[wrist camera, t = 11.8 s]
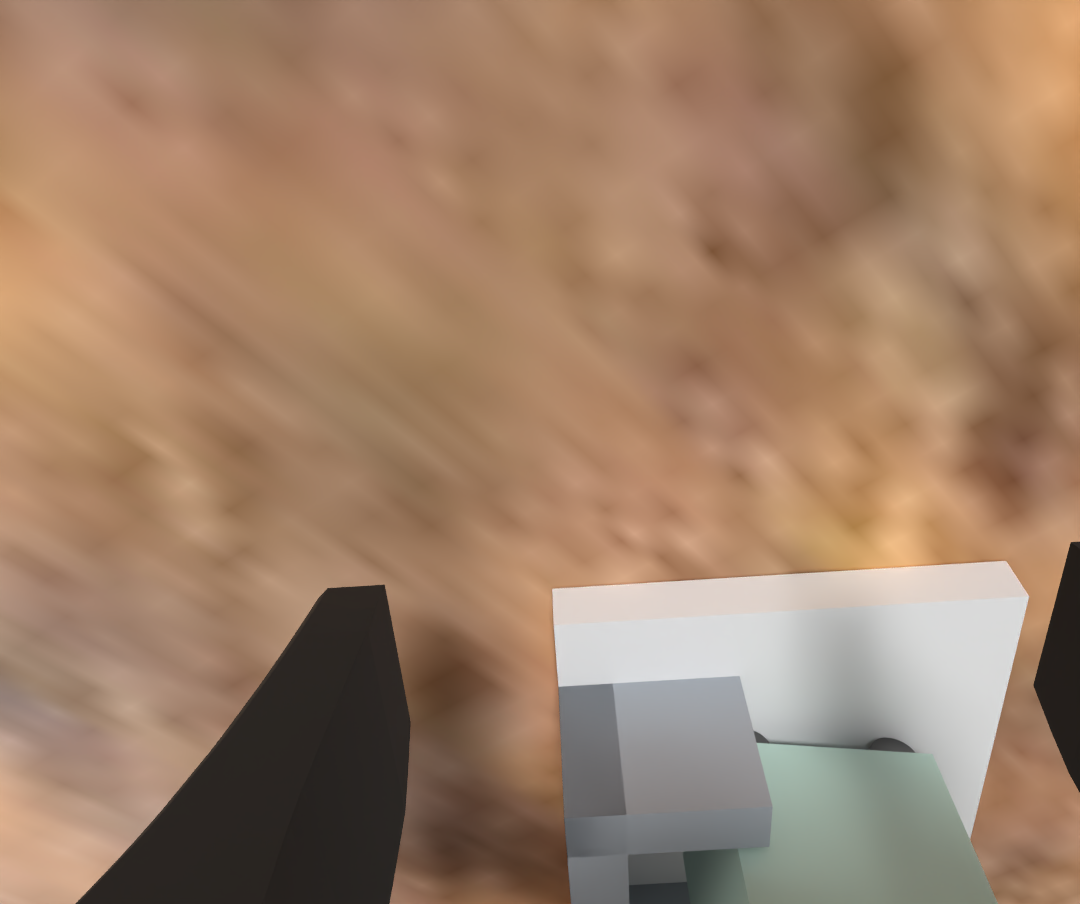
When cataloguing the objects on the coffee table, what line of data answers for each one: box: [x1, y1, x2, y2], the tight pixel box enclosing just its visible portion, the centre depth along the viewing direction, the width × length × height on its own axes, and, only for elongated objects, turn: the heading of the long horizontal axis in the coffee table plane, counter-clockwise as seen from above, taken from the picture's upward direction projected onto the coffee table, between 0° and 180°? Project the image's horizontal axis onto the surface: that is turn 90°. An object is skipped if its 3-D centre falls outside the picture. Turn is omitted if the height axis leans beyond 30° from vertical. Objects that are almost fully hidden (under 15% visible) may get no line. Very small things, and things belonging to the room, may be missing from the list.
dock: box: [552, 561, 1029, 904], centre depth 24 cm, size 10×12×5 cm
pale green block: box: [683, 731, 998, 904], centre depth 22 cm, size 5×4×5 cm
